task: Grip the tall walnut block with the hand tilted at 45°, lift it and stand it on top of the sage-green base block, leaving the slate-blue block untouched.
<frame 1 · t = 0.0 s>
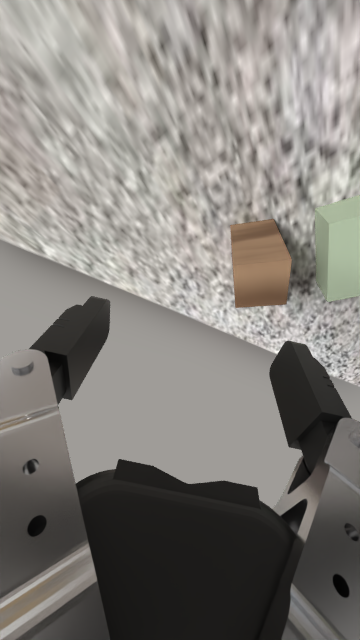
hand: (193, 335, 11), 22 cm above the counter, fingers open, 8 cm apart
walnut block: (251, 241, 30), on the counter
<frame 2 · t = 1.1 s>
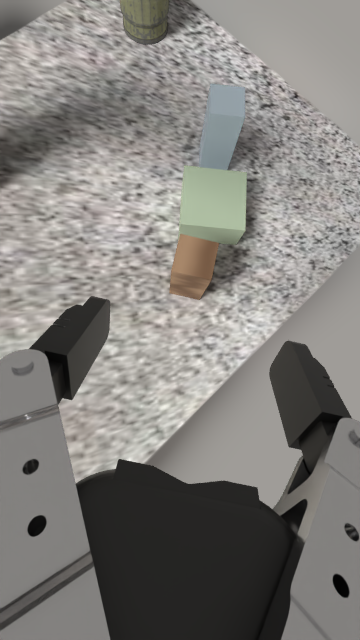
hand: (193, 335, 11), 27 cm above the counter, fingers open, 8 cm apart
thermos: (145, 28, 47), on the counter
base block: (208, 216, 41), on the counter
walnut block: (187, 282, 39), on the counter
slate block: (213, 159, 43), on the counter
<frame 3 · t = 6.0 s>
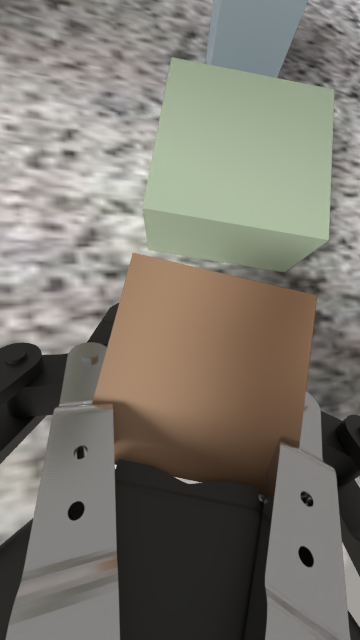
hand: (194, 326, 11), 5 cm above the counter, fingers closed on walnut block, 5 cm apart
base block: (224, 202, 18), on the counter
walnut block: (180, 362, 16), on the counter, touching gripper
slate block: (235, 81, 20), on the counter
when the fingers open (11 cm above the counter, at t = 11.0 s): walnut block drops 2 cm, point 5 cm above the counter.
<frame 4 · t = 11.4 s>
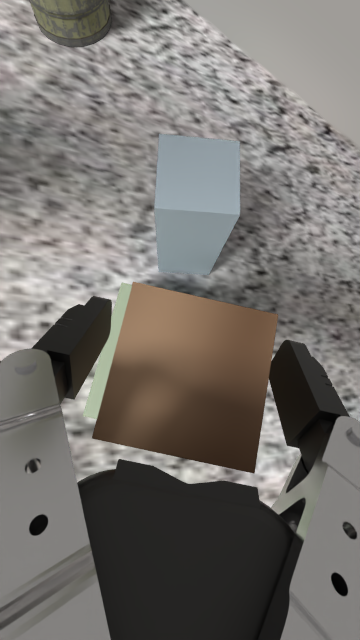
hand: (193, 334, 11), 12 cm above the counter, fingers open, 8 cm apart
thermos: (75, 20, 28), on the counter
base block: (168, 361, 22), on the counter
walnut block: (177, 364, 17), point 5 cm above the counter
slate block: (184, 249, 24), on the counter
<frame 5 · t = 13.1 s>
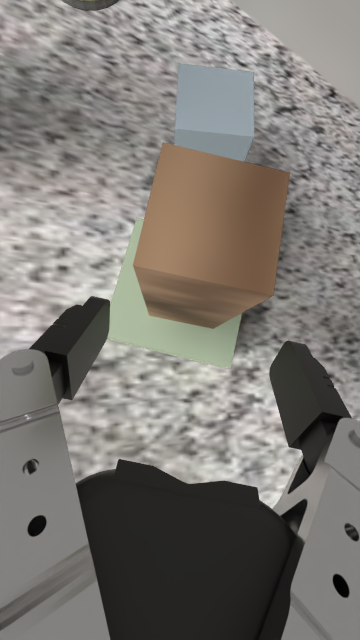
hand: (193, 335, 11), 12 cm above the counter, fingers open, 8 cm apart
base block: (178, 304, 23), on the counter, touching walnut block
walnut block: (187, 291, 18), point 5 cm above the counter, touching base block
slate block: (195, 201, 25), on the counter
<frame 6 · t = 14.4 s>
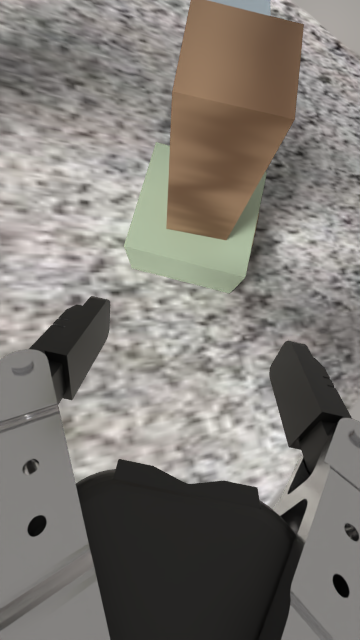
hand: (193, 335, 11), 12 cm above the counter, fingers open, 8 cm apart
base block: (192, 237, 25), on the counter, touching walnut block
walnut block: (201, 207, 20), point 5 cm above the counter, touching base block
slate block: (208, 143, 26), on the counter
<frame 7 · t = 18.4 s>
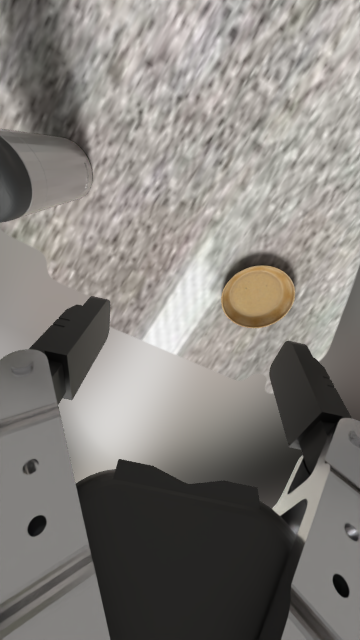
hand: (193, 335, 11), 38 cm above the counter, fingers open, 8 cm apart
plant saucer: (255, 293, 51), on the counter
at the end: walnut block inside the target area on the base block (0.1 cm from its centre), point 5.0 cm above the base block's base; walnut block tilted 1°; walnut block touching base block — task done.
